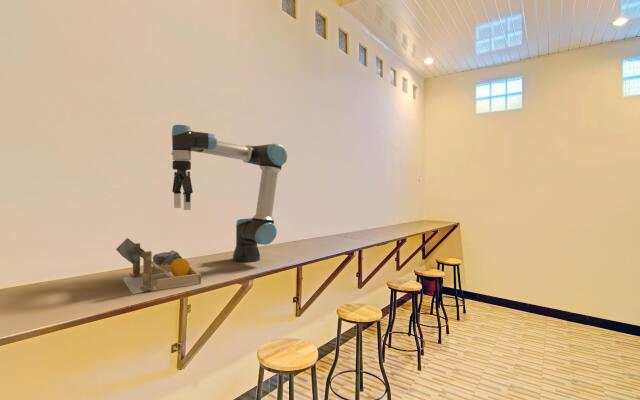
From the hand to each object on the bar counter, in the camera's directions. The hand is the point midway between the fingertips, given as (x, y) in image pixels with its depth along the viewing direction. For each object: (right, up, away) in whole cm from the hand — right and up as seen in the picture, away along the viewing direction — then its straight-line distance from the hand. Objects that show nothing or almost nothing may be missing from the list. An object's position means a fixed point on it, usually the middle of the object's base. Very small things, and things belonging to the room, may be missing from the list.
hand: (182, 208), depth 148 cm
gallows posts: (-11, -30, -12) cm, 35 cm away
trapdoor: (-11, -24, -12) cm, 29 cm away
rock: (-13, -30, +13) cm, 35 cm away
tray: (-6, -30, -8) cm, 32 cm away
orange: (-2, -26, -6) cm, 27 cm away
